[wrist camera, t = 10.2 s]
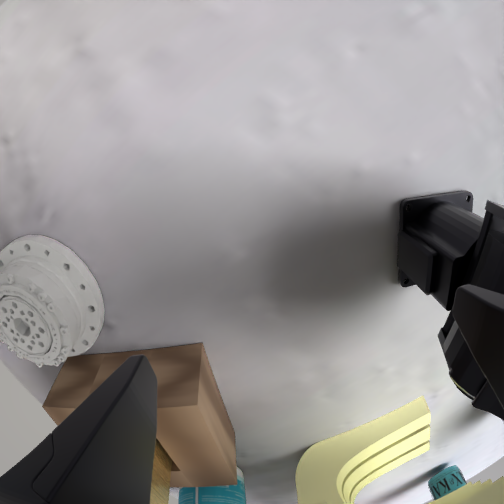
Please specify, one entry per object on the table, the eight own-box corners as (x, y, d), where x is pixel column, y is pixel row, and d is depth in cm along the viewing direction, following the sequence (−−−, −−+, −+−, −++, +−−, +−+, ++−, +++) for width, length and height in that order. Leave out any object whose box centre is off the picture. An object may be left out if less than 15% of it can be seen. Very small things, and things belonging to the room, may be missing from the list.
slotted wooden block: (202, 342, 22) (197, 405, 17) (234, 432, 27) (237, 484, 22) (68, 355, 22) (42, 406, 17) (123, 438, 27) (113, 484, 22)
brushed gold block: (160, 397, 23) (143, 508, 13) (175, 425, 24) (166, 526, 15) (127, 398, 23) (102, 503, 13) (144, 426, 24) (128, 522, 15)
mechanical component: (-12, 288, 20) (70, 363, 23) (-39, 315, 16) (53, 399, 19) (31, 204, 18) (131, 300, 21) (-6, 225, 14) (113, 339, 17)
